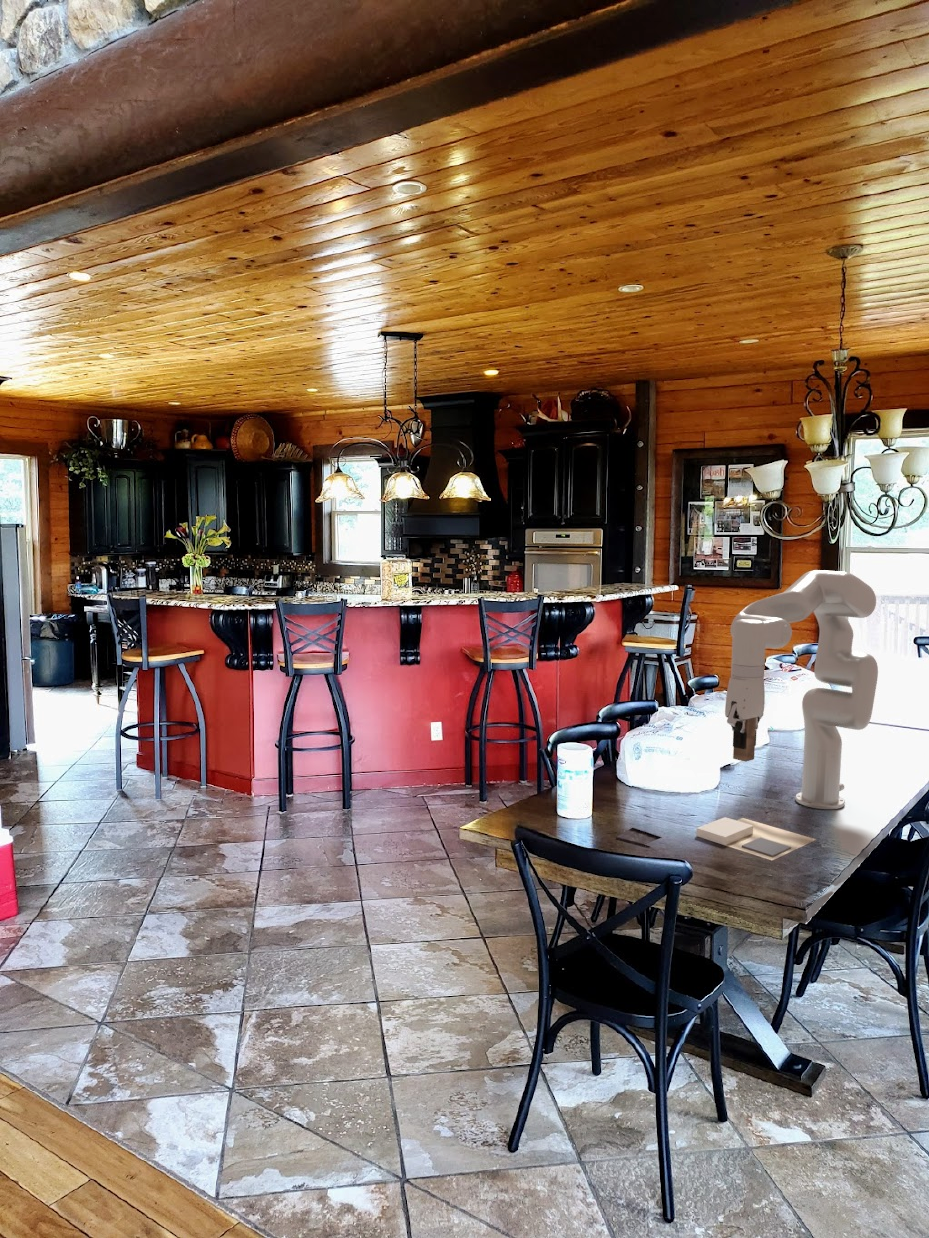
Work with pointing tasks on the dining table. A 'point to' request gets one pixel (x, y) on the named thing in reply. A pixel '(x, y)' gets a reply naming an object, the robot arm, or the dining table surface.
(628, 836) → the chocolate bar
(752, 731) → the brown wooden block
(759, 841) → the mat
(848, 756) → the dining table surface
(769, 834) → the board
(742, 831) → the tile
